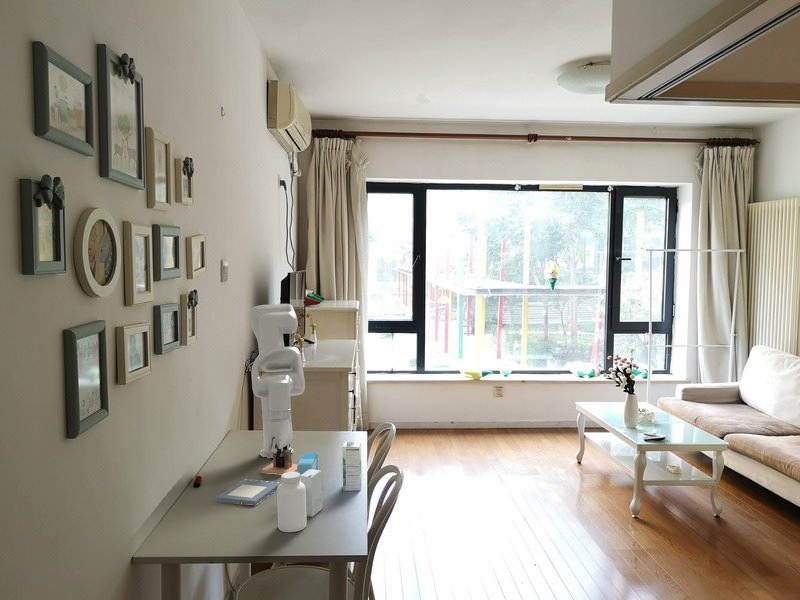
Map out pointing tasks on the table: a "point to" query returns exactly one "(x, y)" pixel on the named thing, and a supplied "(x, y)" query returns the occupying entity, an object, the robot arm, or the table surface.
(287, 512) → the pill bottle
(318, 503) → the skincare box
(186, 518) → the table surface
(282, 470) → the stub
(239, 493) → the board
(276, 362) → the robot arm
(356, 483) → the syrup box
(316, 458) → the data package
